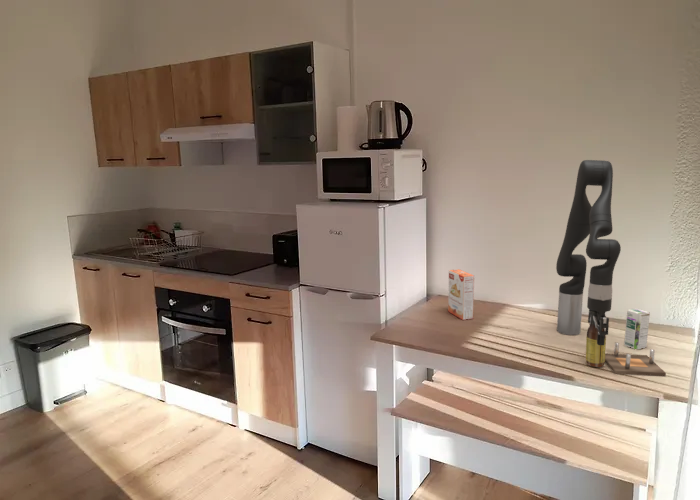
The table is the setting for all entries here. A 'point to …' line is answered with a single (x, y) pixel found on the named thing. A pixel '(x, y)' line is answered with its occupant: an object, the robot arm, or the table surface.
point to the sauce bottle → (594, 346)
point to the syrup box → (636, 328)
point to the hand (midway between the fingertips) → (596, 340)
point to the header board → (633, 365)
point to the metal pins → (628, 356)
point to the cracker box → (461, 294)
